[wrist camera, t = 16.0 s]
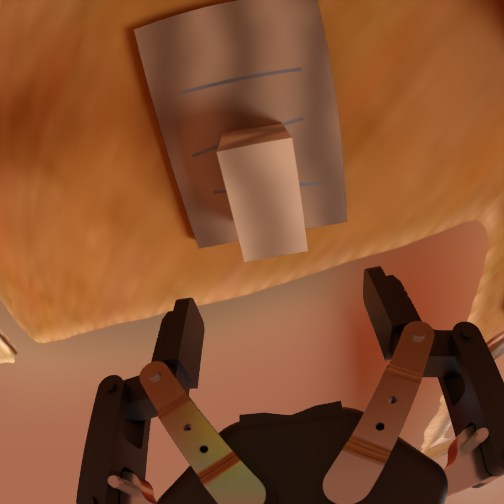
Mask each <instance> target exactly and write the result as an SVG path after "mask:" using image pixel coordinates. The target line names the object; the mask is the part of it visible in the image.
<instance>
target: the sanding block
mask: <svg viewBox="0 0 504 504" xmlns="http://www.w3.org/2000/svg"><path fill="white" fill-rule="evenodd" d="M217 156H218V160H219V164H220V168H221V172H222V176H223V180H224V183H225V187H226V191H227V195H228V199H229V203H230V207H231V211H232V215H233V219H234V222H235V226H236V230H237V234H238V238H239V242H240V245H241V249H242V253H243V257H244V261H245V262H247V261H253V260H259V259H264V258H270V257H276V256H282V255H287V254H293V253H299V252H304V251H308V249H307V241H306V232H305V224H304V216H303V209H302V201H301V194H300V187H299V180H298V173H297V166H296V159H295V153H294V147H293V141H292V137H291V135H290V134H289V132H288V131H287V130H286V128H285V127H284V125H283V124H282V122H281V123H275V124H269V125H264V126H258V127H253V128H248V129H243V130H238V131H233V132H228V133H224V134H222V137H221V140H220V143H219V146H218V149H217Z"/></svg>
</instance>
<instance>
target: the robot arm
mask: <svg viewBox="0 0 504 504" xmlns="http://www.w3.org/2000/svg"><path fill="white" fill-rule="evenodd" d="M363 299H364V304H365V307H366V310H367V312H368V315H369V318H370V320H371V323H372V326H373V328H374V331H375V334H376V336H377V339H378V342H379V345H380V347H381V350H382V353H383V356H384V359H385V360H390V359H391V361H390V364H389V366H387V367H386V369H385V371H384V373H383V375H382V378H381V380H380V382H379V384H378V386H377V388H376V390H375V392H374V394H373V396H372V398H371V400H370V402H369V404H368V406H367V408H366V410H365V412H363V411H360V410H357V409H353V408H348V407H342V405H341V401H338V402H333V403H328V404H322V405H317V406H314V407H311V408H309V409H306V410H304V411H302V412H299V413H296V414H293V415H280V414H271V413H256V414H246V415H240V421H239V422H236V423H234V424H232V425H230V426H228V427H226V428H225V429H223V430H222V431H221V432H220V433H218V432H217V431H216V430H215V429H214V427H213V426H212V425H211V424H210V423H209V421H208V420H207V419H206V418H205V416H204V415H203V414H202V412H201V411H200V410H199V409H198V408H197V406H196V405H195V403H194V402H193V401H192V399H191V398H190V397H189V389H192V388H198V379H199V371H200V362H201V354H202V346H203V338H204V323H203V320H202V317H201V315H200V313H199V310H198V308H197V306H196V304H195V301H194V299H193V298H185V299H178V300H176V302H175V306H174V310H173V311H169V312H167V314H166V315H165V317H164V318H163V319H162V323H161V326H160V330H159V334H158V338H157V342H156V345H155V349H154V353H153V357H152V362H151V363H149V364H147V365H146V366H145V367H144V368H143V369H142V371H141V373H140V375H139V376H136V377H133V378H130V379H127V380H124V381H123V380H122V378H121V377H119V376H117V375H111V376H108V377H106V378H105V379H103V381H101V383H100V384H99V387H98V391H97V394H96V398H95V403H94V406H93V411H92V415H91V420H90V424H89V429H88V433H87V439H86V443H85V448H84V454H83V459H82V466H81V472H80V478H79V485H78V491H77V500H76V503H77V504H444V502H445V499H446V497H447V496H450V495H453V494H455V493H458V492H460V491H463V490H465V489H467V488H470V487H473V488H479V487H481V486H484V485H486V484H487V483H490V482H491V481H493V480H495V479H497V478H499V477H501V476H502V475H504V382H503V380H502V378H501V375H500V373H499V370H498V368H497V366H496V364H495V361H494V359H493V357H492V355H491V353H490V351H489V348H488V346H487V344H486V342H485V340H484V338H483V336H482V334H481V332H480V330H479V329H478V328H477V326H475V325H474V324H472V323H470V322H460V323H458V324H456V325H455V326H454V328H453V330H444V331H443V330H434V329H432V327H431V326H430V325H429V324H427V323H425V322H422V321H421V319H420V317H419V315H418V313H417V311H416V309H415V307H414V305H413V304H412V302H411V300H410V298H409V297H408V294H407V292H406V291H405V289H404V287H403V285H402V283H401V282H400V281H399V280H398V279H397V278H395V277H394V276H393V275H389V276H386V275H385V273H384V272H383V270H382V268H381V267H380V266H378V267H373V268H368V269H365V270H364V284H363ZM422 377H438V380H439V383H440V386H441V389H442V392H443V395H444V398H445V401H446V405H447V408H448V411H449V415H450V418H451V422H452V425H453V429H454V433H455V437H456V438H455V439H454V440H453V441H452V443H451V444H450V446H449V448H448V462H447V465H446V467H445V469H444V470H443V469H442V467H441V466H440V465H439V464H437V463H436V462H435V461H433V460H432V459H430V458H429V457H427V456H426V455H424V454H423V453H422V452H420V451H419V450H417V449H416V448H414V447H413V446H411V445H410V444H409V443H407V442H406V441H404V440H403V439H402V438H400V437H399V434H400V432H401V430H402V428H403V425H404V423H405V421H406V418H407V416H408V414H409V411H410V409H411V406H412V404H413V401H414V399H415V396H416V394H417V391H418V388H419V385H420V383H421V380H422ZM157 416H158V417H159V419H160V421H161V422H162V424H163V425H164V427H165V429H166V430H167V432H168V433H169V435H170V436H171V438H172V439H173V441H174V442H175V444H176V445H177V447H178V448H179V450H180V451H181V453H182V454H183V456H184V457H185V458H186V460H187V461H188V463H189V464H190V466H189V467H188V469H186V471H185V472H184V473H183V474H182V475H181V476H180V477H179V478H178V479H177V480H176V481H175V483H173V485H172V486H171V487H170V488H169V489H168V490H167V491H166V492H165V493H164V494H163V495H162V496H161V497H160V498H159V500H158V501H156V500H155V498H154V492H153V488H152V486H151V484H150V483H149V482H147V481H146V480H145V473H146V462H147V451H148V441H149V431H150V422H151V418H153V417H157Z"/></svg>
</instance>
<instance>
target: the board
mask: <svg viewBox="0 0 504 504" xmlns="http://www.w3.org/2000/svg"><path fill="white" fill-rule="evenodd" d="M134 32H135V37H136V41H137V45H138V49H139V53H140V57H141V61H142V65H143V68H144V72H145V76H146V80H147V83H148V87H149V91H150V94H151V98H152V102H153V105H154V109H155V112H156V116H157V119H158V123H159V126H160V130H161V133H162V136H163V140H164V143H165V146H166V150H167V153H168V156H169V160H170V163H171V166H172V169H173V172H174V176H175V179H176V182H177V185H178V188H179V191H180V194H181V197H182V200H183V203H184V207H185V210H186V213H187V216H188V219H189V222H190V224H191V227H192V230H193V233H194V236H195V239H196V242H197V245H198V248H204V247H209V246H214V245H220V244H225V243H231V242H236V241H239V238H238V234H237V230H236V226H235V222H234V219H233V215H232V211H231V207H230V203H229V199H228V195H227V191H226V187H225V183H224V180H223V176H222V172H221V168H220V164H219V160H218V156H217V149H218V146H219V143H220V140H221V137H222V134H224V133H228V132H233V131H238V130H243V129H248V128H253V127H258V126H264V125H269V124H275V123H281V122H282V124H283V125H284V127H285V128H286V130H287V131H288V132H289V134H290V135H291V137H292V141H293V147H294V153H295V159H296V166H297V173H298V180H299V187H300V194H301V201H302V209H303V216H304V224H305V229H308V228H314V227H320V226H325V225H331V224H337V223H343V222H347V210H346V193H345V179H344V166H343V155H342V145H341V136H340V127H339V119H338V111H337V103H336V96H335V90H334V83H333V77H332V71H331V65H330V59H329V54H328V48H327V43H326V38H325V33H324V28H323V24H322V19H321V14H320V10H319V6H318V2H317V0H237V1H231V2H226V3H222V4H217V5H212V6H208V7H204V8H200V9H196V10H192V11H189V12H185V13H182V14H178V15H175V16H172V17H168V18H165V19H162V20H159V21H156V22H153V23H151V24H148V25H145V26H142V27H140V28H137V29H134Z"/></svg>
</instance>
